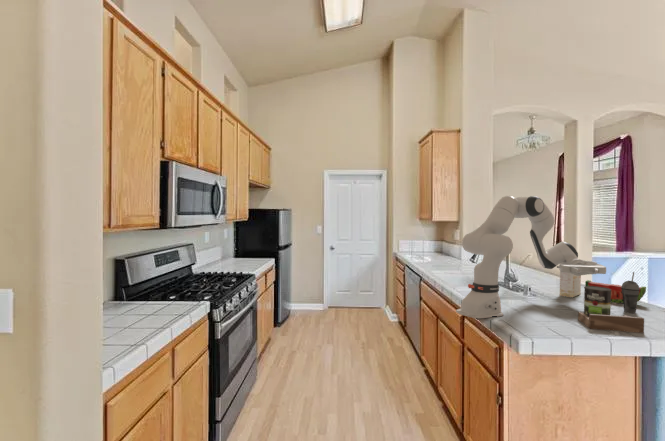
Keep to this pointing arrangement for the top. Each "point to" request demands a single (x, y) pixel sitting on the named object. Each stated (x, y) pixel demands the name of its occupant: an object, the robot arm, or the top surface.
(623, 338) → the top surface
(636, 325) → the box
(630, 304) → the beverage cup
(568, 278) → the coffeecake box
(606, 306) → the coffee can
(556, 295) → the top surface
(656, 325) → the top surface
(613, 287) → the fruit slice
